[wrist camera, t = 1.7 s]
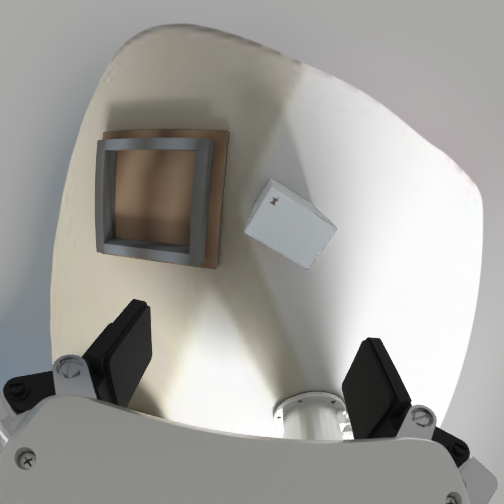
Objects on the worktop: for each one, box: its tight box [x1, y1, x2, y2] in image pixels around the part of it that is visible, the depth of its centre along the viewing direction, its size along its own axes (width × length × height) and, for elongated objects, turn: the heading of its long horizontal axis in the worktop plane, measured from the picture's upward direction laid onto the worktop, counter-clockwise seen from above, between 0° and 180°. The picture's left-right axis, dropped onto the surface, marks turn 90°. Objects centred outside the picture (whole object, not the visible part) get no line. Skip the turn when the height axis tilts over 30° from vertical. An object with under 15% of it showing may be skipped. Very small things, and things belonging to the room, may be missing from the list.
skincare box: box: [244, 178, 337, 270], centre depth 26 cm, size 6×4×12 cm
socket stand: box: [95, 129, 229, 269], centre depth 30 cm, size 16×16×4 cm
